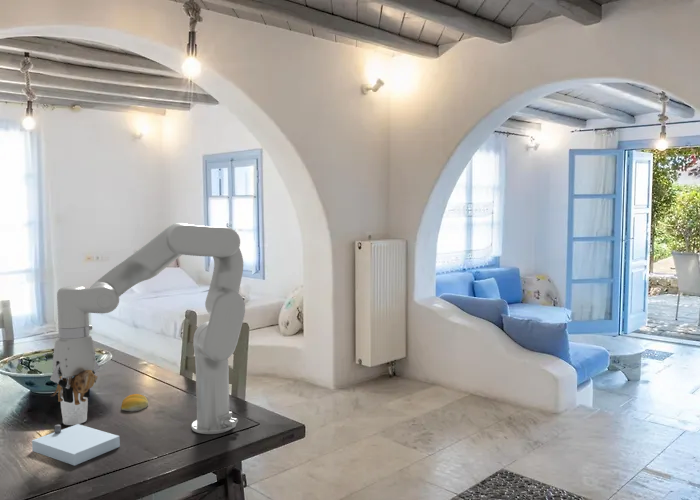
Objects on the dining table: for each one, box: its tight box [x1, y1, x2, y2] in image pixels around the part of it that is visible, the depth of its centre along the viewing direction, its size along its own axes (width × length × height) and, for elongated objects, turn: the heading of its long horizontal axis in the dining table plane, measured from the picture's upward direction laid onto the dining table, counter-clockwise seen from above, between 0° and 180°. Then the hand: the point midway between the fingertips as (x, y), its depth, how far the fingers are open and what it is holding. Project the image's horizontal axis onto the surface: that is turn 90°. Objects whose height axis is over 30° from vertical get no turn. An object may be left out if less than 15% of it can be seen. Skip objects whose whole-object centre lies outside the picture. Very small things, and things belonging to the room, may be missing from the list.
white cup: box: [60, 393, 89, 426], centre depth 189 cm, size 8×8×10 cm
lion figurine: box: [50, 370, 98, 405], centre depth 167 cm, size 15×5×9 cm, turn 73°
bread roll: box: [120, 393, 149, 412], centre depth 202 cm, size 8×9×4 cm
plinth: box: [31, 424, 121, 466], centre depth 168 cm, size 18×14×5 cm
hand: (76, 398), depth 167 cm, fingers closed on lion figurine, 4 cm apart
